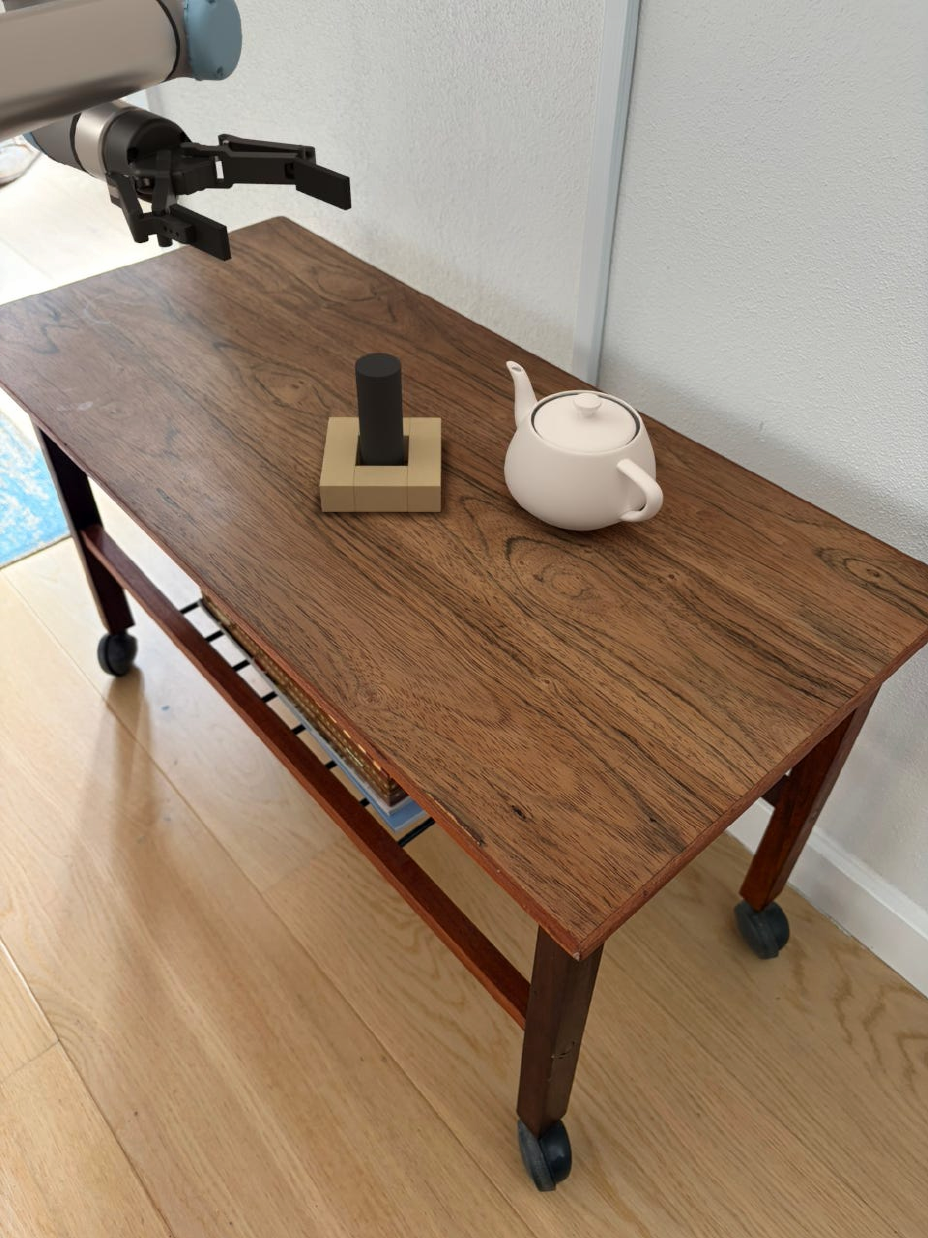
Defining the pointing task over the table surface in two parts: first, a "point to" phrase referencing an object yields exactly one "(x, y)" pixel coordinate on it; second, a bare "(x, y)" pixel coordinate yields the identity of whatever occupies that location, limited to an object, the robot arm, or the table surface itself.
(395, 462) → the black cylinder peg
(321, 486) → the base pad
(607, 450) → the teapot
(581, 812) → the table surface
